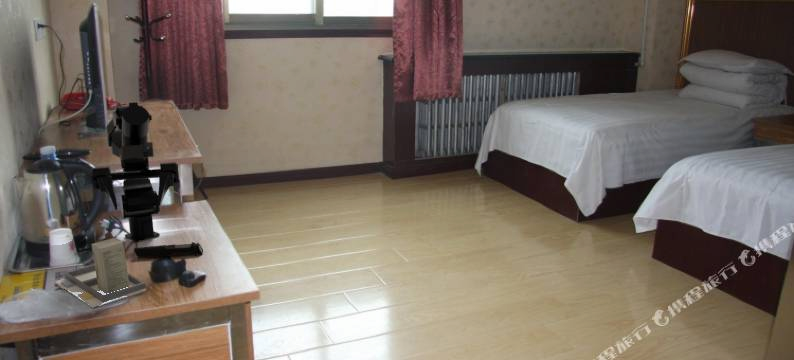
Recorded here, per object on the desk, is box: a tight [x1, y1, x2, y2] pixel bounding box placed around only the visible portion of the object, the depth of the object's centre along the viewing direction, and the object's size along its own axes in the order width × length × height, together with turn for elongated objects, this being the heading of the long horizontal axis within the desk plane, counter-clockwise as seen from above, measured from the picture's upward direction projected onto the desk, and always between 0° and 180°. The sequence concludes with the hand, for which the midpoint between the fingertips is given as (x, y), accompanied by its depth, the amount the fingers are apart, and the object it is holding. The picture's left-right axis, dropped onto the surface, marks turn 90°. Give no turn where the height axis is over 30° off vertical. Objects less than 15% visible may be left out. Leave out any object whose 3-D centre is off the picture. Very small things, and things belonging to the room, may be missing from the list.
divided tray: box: [54, 263, 147, 309], centre depth 133 cm, size 18×11×2 cm, turn 49°
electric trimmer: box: [133, 241, 204, 259], centre depth 150 cm, size 4×16×3 cm, turn 102°
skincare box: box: [91, 237, 129, 294], centre depth 130 cm, size 5×4×10 cm
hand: (137, 207), depth 142 cm, fingers open, 9 cm apart
